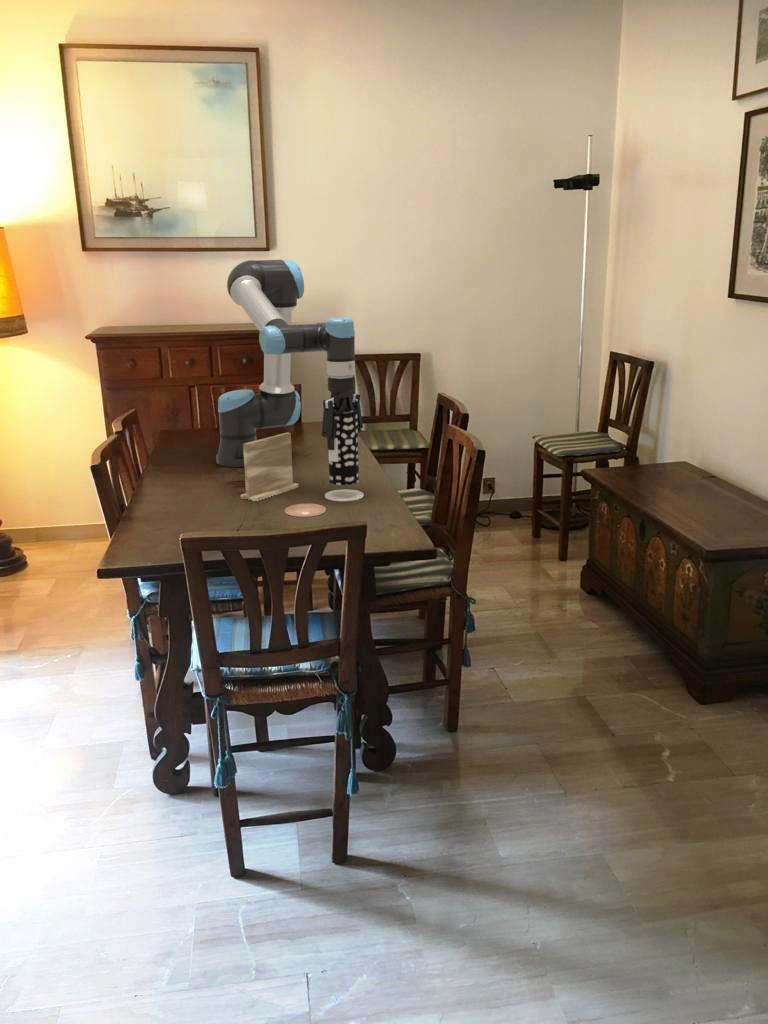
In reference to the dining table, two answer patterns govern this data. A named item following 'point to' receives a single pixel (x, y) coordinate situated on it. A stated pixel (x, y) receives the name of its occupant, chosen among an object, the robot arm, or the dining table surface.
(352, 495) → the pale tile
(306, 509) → the pink round disc
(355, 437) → the spotted tube
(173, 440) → the dining table surface
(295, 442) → the dining table surface
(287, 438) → the birch shelf
